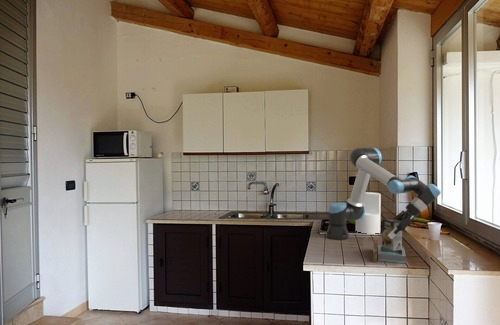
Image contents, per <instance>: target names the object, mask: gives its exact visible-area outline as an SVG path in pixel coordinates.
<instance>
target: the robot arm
mask: <svg viewBox="0 0 500 325" xmlns="http://www.w3.org/2000/svg"><path fill="white" fill-rule="evenodd" d="M382 159H383V155H382V154H381V151H380V150H379V149H378V148H376V147H371V146H370V147H356V148H354V149H353V150H352V151H351V152H350V154H349V161H350V163H351V164H352V165H353V167H355V168H356V169H358V170H357V173H356V176H355V181H354V184H353V187H352V191H351V195H350V196H349V198H347V199H346V202H344V201H343V202H341V201H340V202H333V203H331V204H329V207H328V228H327V231H326V234H325V236H326V237H327V239H332V240H341V241H342V240H347V239H349V238H350V234H349V230H348V227H347V222H349V221H350V220H358V219H361V218H362V217H363V216H364V215H365V207H364V203H363V202H362V201H363V198H364V195H365V192H366V191H367V188H368V184H369V181H370V178H371V177H373V178H374V179H376V180H377V181H379V182H380V183H382V184H383V185H385V186H386V188H387V190H388V191H389V193H391V194H393V195H394V194H397V195H398V194H407V193H414V194H415V195H416V196H415V197H414V198H413V199H412V200H411V201H410V202H411V203H408V204H407V205H406V206H405V209H406V210H402V211H401V212H400V213H398V214H397V215H395V216H394V217H393V218H392V219H395V220H399V221H401V222H400V224H399V226H396V228H395V229H394V230H393V231H392V232H391V233H390V234H388V236H389V237H390V238H391V239H392V238H393V237H394V236H396V235H397V234H398V233H399V232H400V231H402V232H404V230H405V229H406V228H407V227H408V226H409V224H410V223H412V221H413V220H414V219H415V217H416V218H417V217H418V216H419V215H420V214H421V212H423V211H425V210H427V207H428V206H429V205H430V204H432V203H433V202H434V201H435V200H436V199H437V198H438V197H439V196H440V195H441V190H440V188H438V187H437V186H436V185H435V184H433V183H429V184H425V183H424V182H423V181H421V180H420V179H419V178H417V177H416V176H414V175H408V176H406V177H405V178H404V179H401V178H400V177H398V176H396V175H395V174H393V173H391V172H390V171H388V170H387V169H385V168H383V167H382V166H380V165H379V164H381V162H382V161H383V160H382Z"/></svg>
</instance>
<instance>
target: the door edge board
mask: <svg viewBox="0 0 500 325" xmlns="http://www.w3.org/2000/svg"><path fill="white" fill-rule="evenodd" d="M378 245H379V244H378V240H376V239H374V240H373V245H372V246H373V247H372V248H373V249H372V262H373V263H376V262H377V263H378Z"/></svg>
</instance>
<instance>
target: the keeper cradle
mask: <svg viewBox="0 0 500 325" xmlns="http://www.w3.org/2000/svg"><path fill="white" fill-rule="evenodd" d="M386 261H387V262H388V263H398V264H406V263H407V256H406V251H405V247H403V246H402V250H395V251H393V250H390V249H387V248H385V247H382V244H381V245H380V244H378V250H377V262H386ZM387 262H386V263H387Z"/></svg>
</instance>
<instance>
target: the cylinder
mask: <svg viewBox="0 0 500 325" xmlns="http://www.w3.org/2000/svg"><path fill="white" fill-rule="evenodd" d="M381 198H382V196H381V193H379V192H374V191H373V192H370V191H367V192H365V195H364V198H363V201H362V202H363V203H364V207H365V215H364V216H363V217H362V218H361V219H358V220H356V224H355V232H356V231H357V232H356V233H358V232H361V233H367V234H366V235H368V234H374V235H376V234H375V233H379V234H381V220H382V219H381V218H382V216H381V213H382V212H381V204H382V203H381V200H382V199H381ZM361 233H360V234H361Z"/></svg>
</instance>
